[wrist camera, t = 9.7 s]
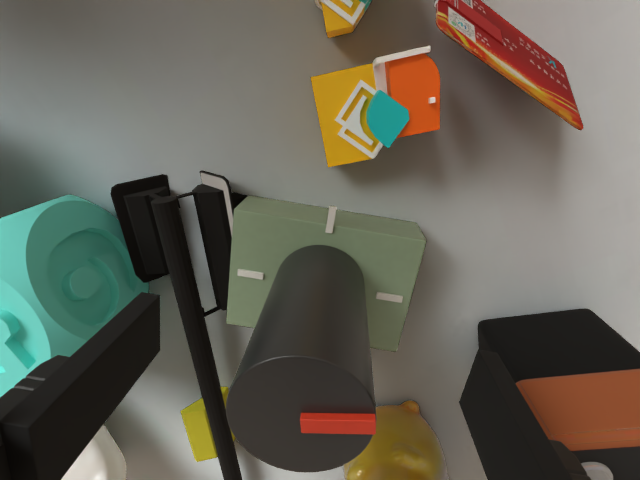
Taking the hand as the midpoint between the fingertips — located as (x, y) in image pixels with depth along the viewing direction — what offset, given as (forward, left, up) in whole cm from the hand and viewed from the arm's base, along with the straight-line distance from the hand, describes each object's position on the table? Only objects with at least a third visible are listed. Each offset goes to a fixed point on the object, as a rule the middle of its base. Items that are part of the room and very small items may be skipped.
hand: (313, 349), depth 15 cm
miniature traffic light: (+10, -5, -9) cm, 15 cm away
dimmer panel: (0, 0, -8) cm, 8 cm away
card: (-11, +6, -3) cm, 13 cm away
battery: (+3, +14, -9) cm, 16 cm away
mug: (+15, +8, -8) cm, 19 cm away
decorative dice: (+2, -15, -8) cm, 17 cm away
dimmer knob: (0, 0, -5) cm, 5 cm away
